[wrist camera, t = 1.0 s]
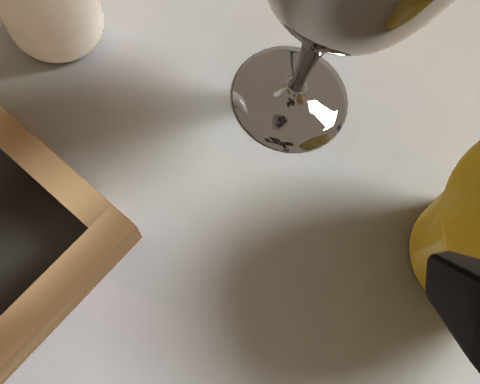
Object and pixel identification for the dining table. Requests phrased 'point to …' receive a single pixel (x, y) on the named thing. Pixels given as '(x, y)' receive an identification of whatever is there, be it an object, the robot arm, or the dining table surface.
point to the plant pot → (450, 217)
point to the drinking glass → (54, 27)
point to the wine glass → (317, 66)
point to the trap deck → (48, 241)
